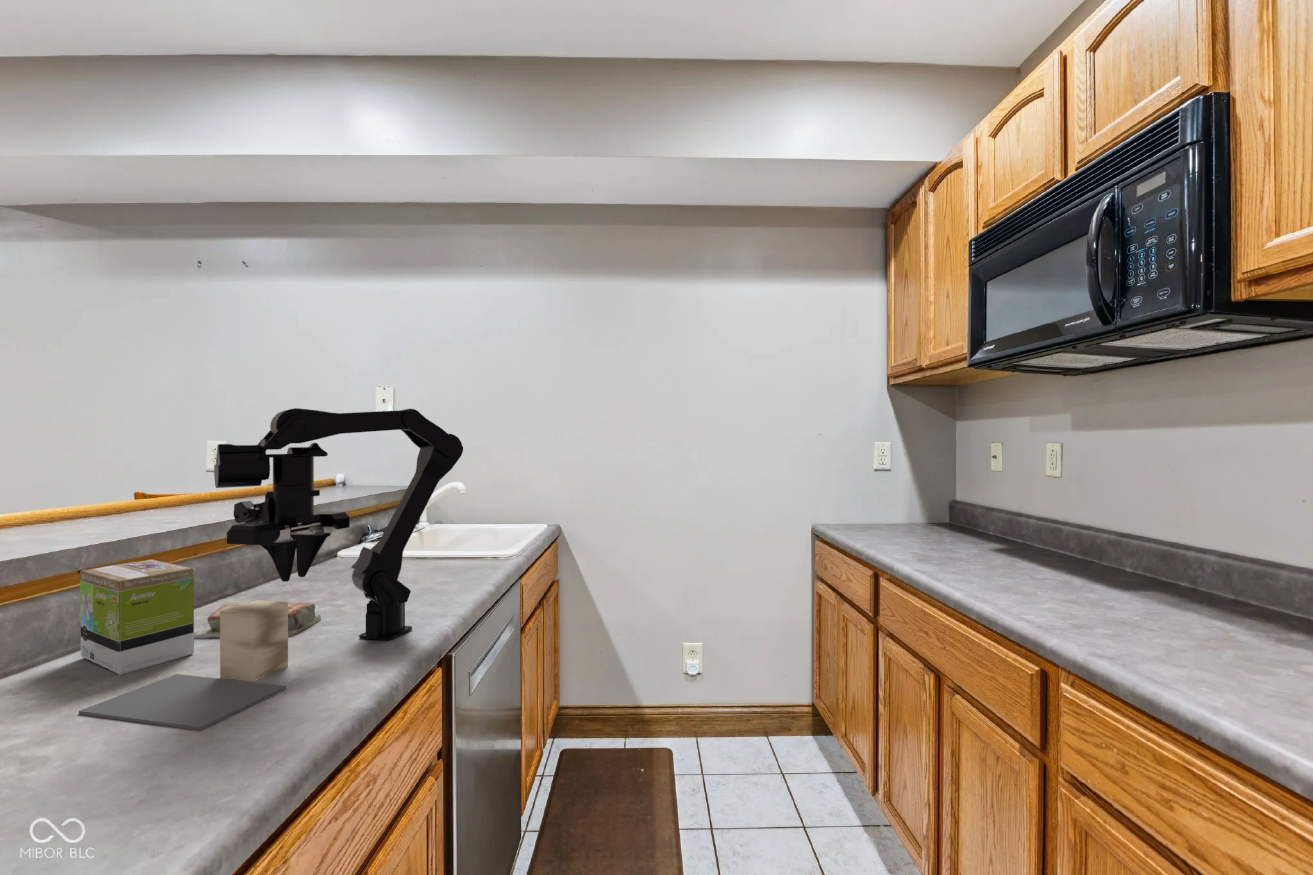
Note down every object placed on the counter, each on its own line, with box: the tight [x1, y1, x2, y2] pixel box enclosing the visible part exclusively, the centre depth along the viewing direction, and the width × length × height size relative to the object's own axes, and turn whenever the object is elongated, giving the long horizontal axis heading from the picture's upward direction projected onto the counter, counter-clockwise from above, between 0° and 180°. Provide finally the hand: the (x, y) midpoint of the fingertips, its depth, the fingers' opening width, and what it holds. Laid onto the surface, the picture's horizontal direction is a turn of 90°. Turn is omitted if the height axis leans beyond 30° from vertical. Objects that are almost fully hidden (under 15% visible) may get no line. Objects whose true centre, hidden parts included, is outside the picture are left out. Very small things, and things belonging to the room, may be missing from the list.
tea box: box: [79, 558, 195, 676], centre depth 93 cm, size 15×10×15 cm
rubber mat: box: [78, 673, 287, 731], centre depth 77 cm, size 12×20×1 cm, turn 77°
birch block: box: [219, 599, 289, 682], centre depth 86 cm, size 6×6×10 cm
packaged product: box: [194, 602, 322, 639], centre depth 107 cm, size 18×5×10 cm
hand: (293, 578), depth 93 cm, fingers open, 3 cm apart
